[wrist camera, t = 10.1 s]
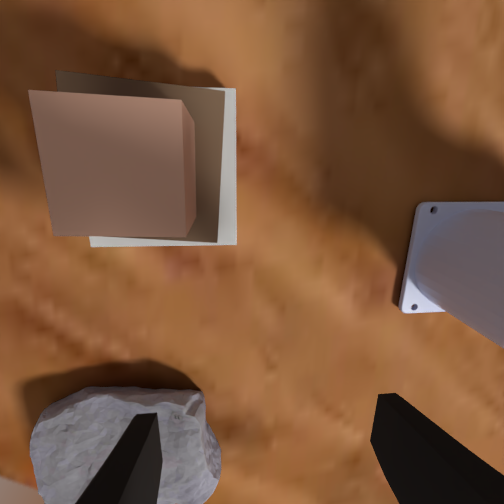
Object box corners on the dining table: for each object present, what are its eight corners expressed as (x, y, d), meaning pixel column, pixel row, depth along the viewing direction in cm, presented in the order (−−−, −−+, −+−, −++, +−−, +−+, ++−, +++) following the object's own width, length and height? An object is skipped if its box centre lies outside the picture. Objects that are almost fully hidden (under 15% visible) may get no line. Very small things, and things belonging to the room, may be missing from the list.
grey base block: (233, 100, 16) (235, 88, 14) (234, 234, 18) (236, 244, 16) (88, 95, 15) (63, 81, 13) (109, 236, 18) (90, 247, 15)
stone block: (52, 378, 22) (81, 491, 23) (4, 421, 17) (43, 562, 18) (204, 348, 23) (224, 458, 24) (199, 380, 18) (224, 516, 19)
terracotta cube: (194, 122, 12) (181, 99, 8) (196, 216, 13) (186, 237, 9) (93, 116, 11) (28, 89, 7) (105, 214, 12) (53, 236, 8)
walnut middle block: (224, 104, 14) (225, 91, 11) (218, 231, 16) (217, 242, 13) (86, 88, 13) (55, 70, 11) (96, 224, 15) (72, 234, 12)
